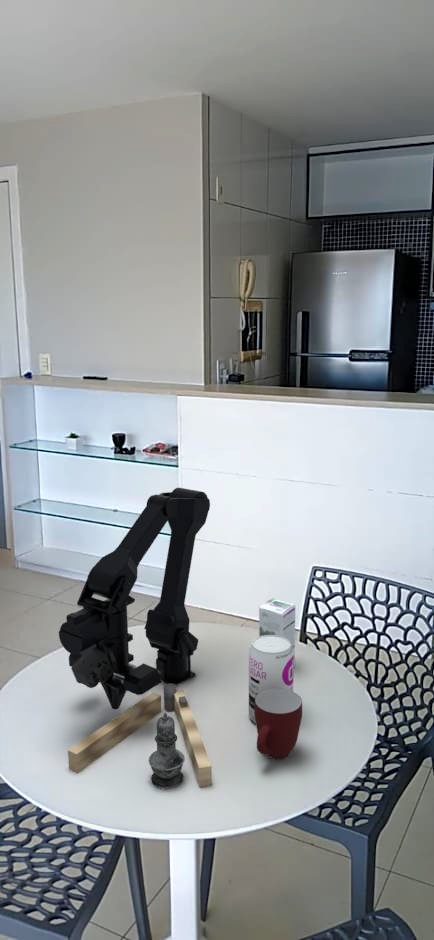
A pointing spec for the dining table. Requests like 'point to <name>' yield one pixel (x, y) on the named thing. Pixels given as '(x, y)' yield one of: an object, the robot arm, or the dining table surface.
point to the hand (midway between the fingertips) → (115, 708)
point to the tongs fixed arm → (189, 733)
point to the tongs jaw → (113, 732)
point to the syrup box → (278, 620)
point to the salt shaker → (166, 756)
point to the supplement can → (269, 666)
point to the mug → (277, 721)
